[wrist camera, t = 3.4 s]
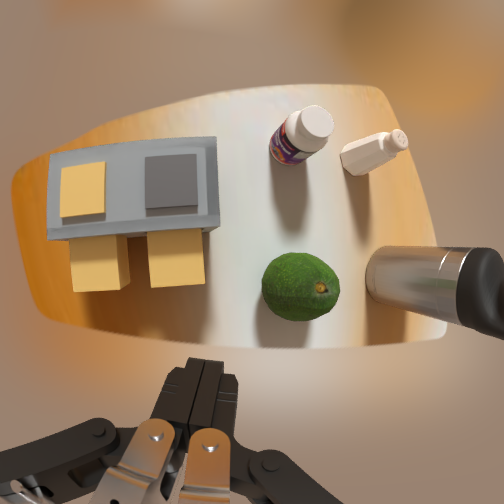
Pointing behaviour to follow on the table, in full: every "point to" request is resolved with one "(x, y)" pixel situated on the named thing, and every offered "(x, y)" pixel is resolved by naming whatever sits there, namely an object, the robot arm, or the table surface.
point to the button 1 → (99, 263)
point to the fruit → (300, 287)
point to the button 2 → (175, 257)
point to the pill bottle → (301, 135)
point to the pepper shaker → (372, 151)
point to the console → (133, 188)
